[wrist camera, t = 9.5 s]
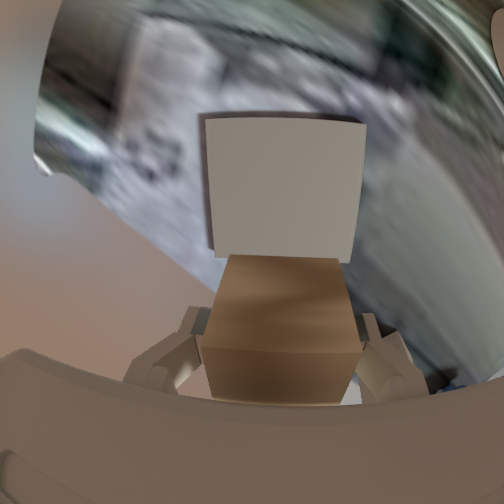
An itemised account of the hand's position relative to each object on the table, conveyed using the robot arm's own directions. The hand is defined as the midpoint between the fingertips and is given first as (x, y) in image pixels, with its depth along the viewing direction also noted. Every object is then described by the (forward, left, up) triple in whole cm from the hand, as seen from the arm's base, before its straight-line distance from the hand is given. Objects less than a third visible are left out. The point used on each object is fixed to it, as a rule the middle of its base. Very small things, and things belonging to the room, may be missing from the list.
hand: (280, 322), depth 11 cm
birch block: (0, 0, -2) cm, 2 cm away
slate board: (0, 0, -17) cm, 17 cm away
